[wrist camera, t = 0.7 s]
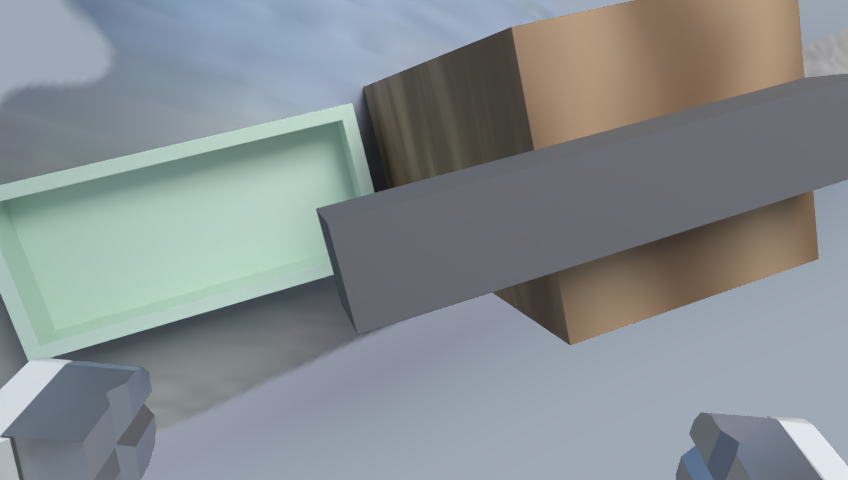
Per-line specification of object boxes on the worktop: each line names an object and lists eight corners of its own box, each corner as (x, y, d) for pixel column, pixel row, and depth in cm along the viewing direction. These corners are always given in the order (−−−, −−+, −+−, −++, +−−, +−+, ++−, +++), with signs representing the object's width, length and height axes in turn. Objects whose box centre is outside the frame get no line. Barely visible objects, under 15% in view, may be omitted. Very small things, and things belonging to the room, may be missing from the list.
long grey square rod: (803, 78, 24) (887, 69, 21) (810, 161, 25) (892, 165, 22) (316, 208, 20) (327, 223, 17) (341, 303, 21) (357, 334, 18)
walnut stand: (498, 56, 52) (795, -35, 23) (524, 192, 55) (818, 258, 26) (363, 87, 49) (511, 27, 21) (398, 228, 52) (570, 345, 24)
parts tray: (342, 105, 49) (352, 102, 44) (378, 246, 52) (391, 257, 47) (-9, 187, 44) (-41, 194, 39) (52, 340, 47) (29, 363, 42)
